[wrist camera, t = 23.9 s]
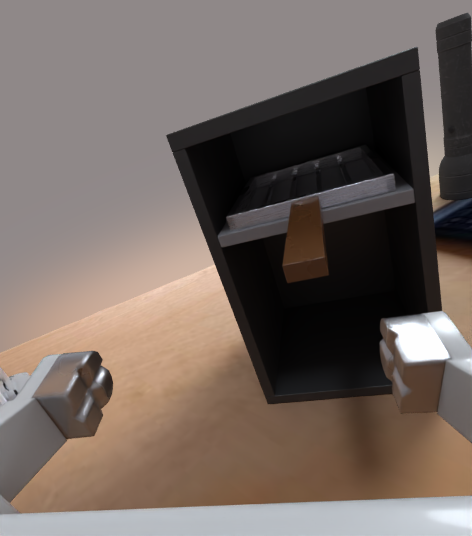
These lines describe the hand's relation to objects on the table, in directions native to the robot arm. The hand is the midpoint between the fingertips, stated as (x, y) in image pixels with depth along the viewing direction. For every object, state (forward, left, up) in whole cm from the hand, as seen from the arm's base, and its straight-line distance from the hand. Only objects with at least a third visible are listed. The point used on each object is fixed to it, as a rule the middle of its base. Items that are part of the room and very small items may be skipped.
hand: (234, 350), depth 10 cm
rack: (-13, +13, -2) cm, 19 cm away
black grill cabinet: (-18, +17, -20) cm, 32 cm away
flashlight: (-31, +60, -20) cm, 71 cm away
